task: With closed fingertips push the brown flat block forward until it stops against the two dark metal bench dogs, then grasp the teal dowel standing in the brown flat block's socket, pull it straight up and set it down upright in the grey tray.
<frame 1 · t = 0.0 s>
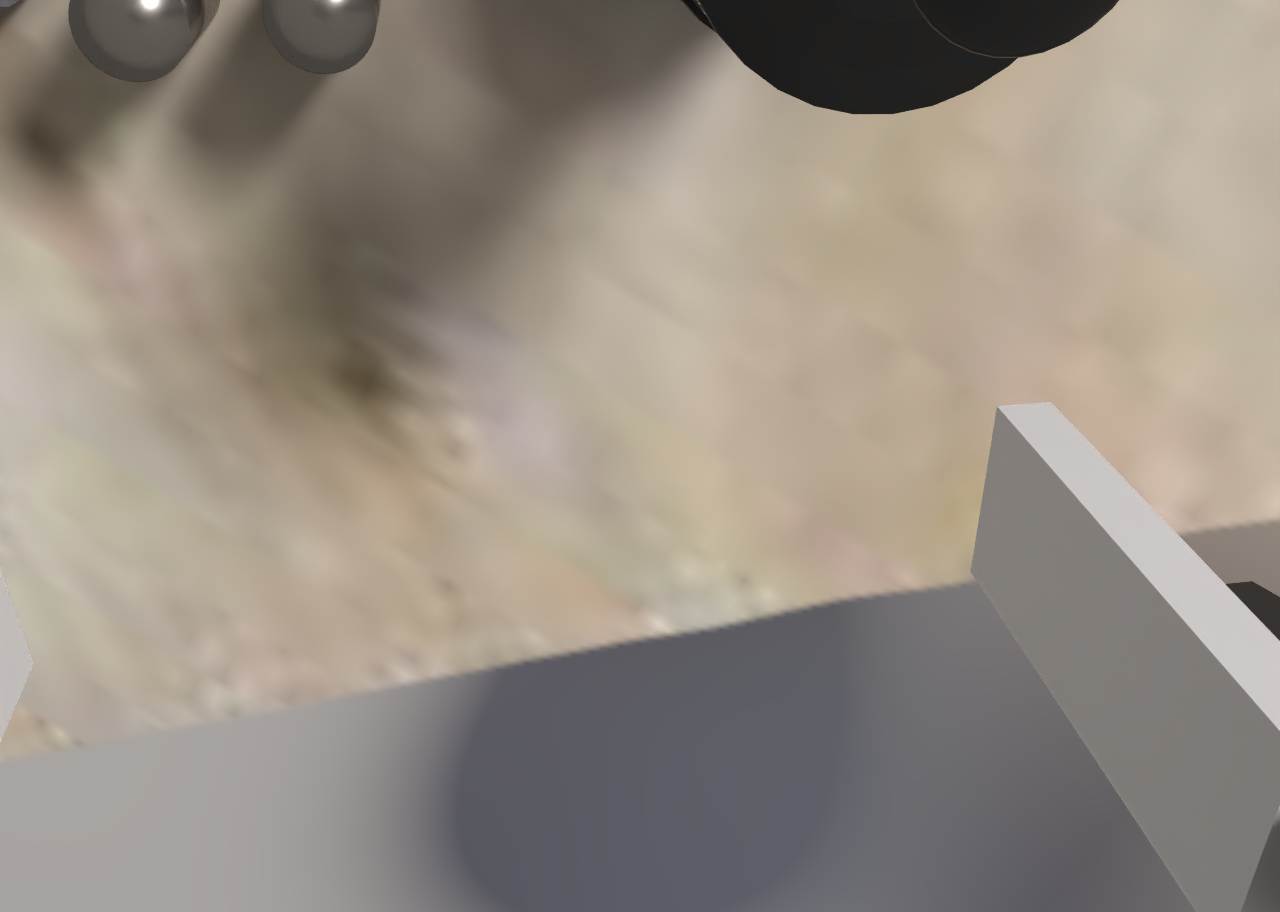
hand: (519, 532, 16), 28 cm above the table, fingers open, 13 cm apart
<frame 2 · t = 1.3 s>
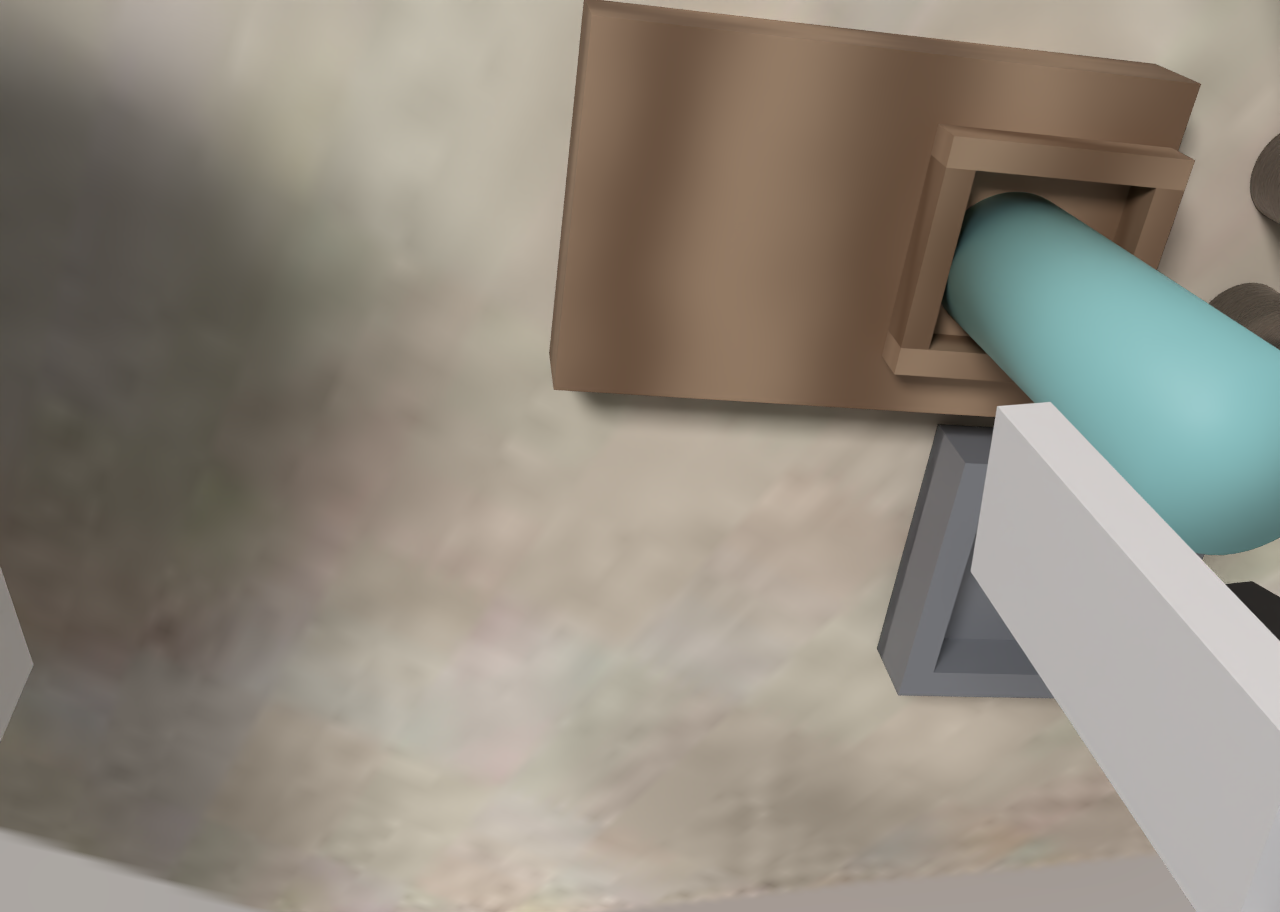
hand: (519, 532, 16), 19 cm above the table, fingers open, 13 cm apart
bench dogs: (1268, 252, 37), on the table
dowel: (1004, 263, 33), point 2 cm above the table, touching brown flat block
brown flat block: (837, 207, 35), on the table, touching dowel
tray: (1030, 547, 41), on the table
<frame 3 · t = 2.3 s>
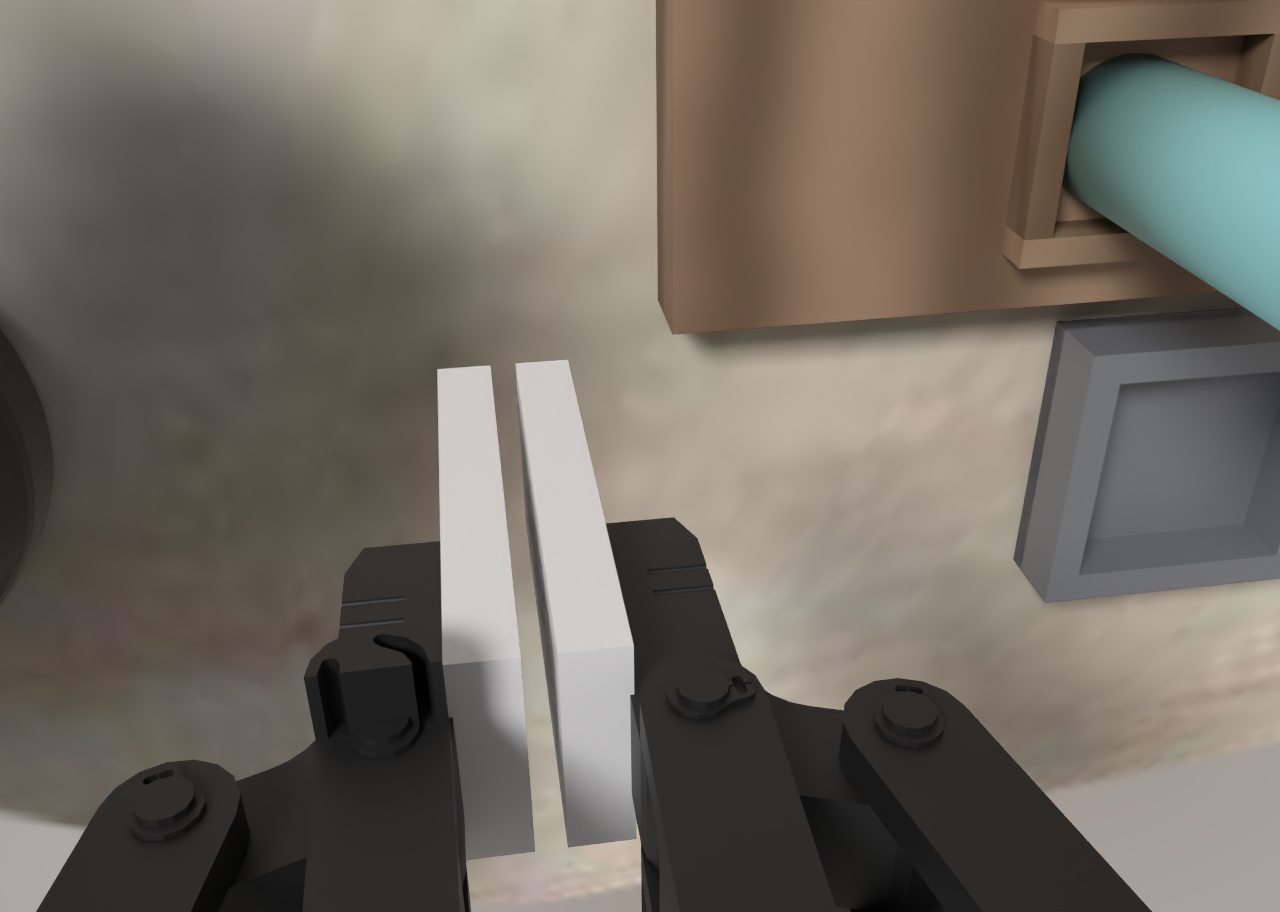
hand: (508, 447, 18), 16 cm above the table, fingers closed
dowel: (1122, 131, 32), point 2 cm above the table, touching brown flat block
brown flat block: (933, 106, 34), on the table, touching dowel
tray: (1161, 436, 40), on the table
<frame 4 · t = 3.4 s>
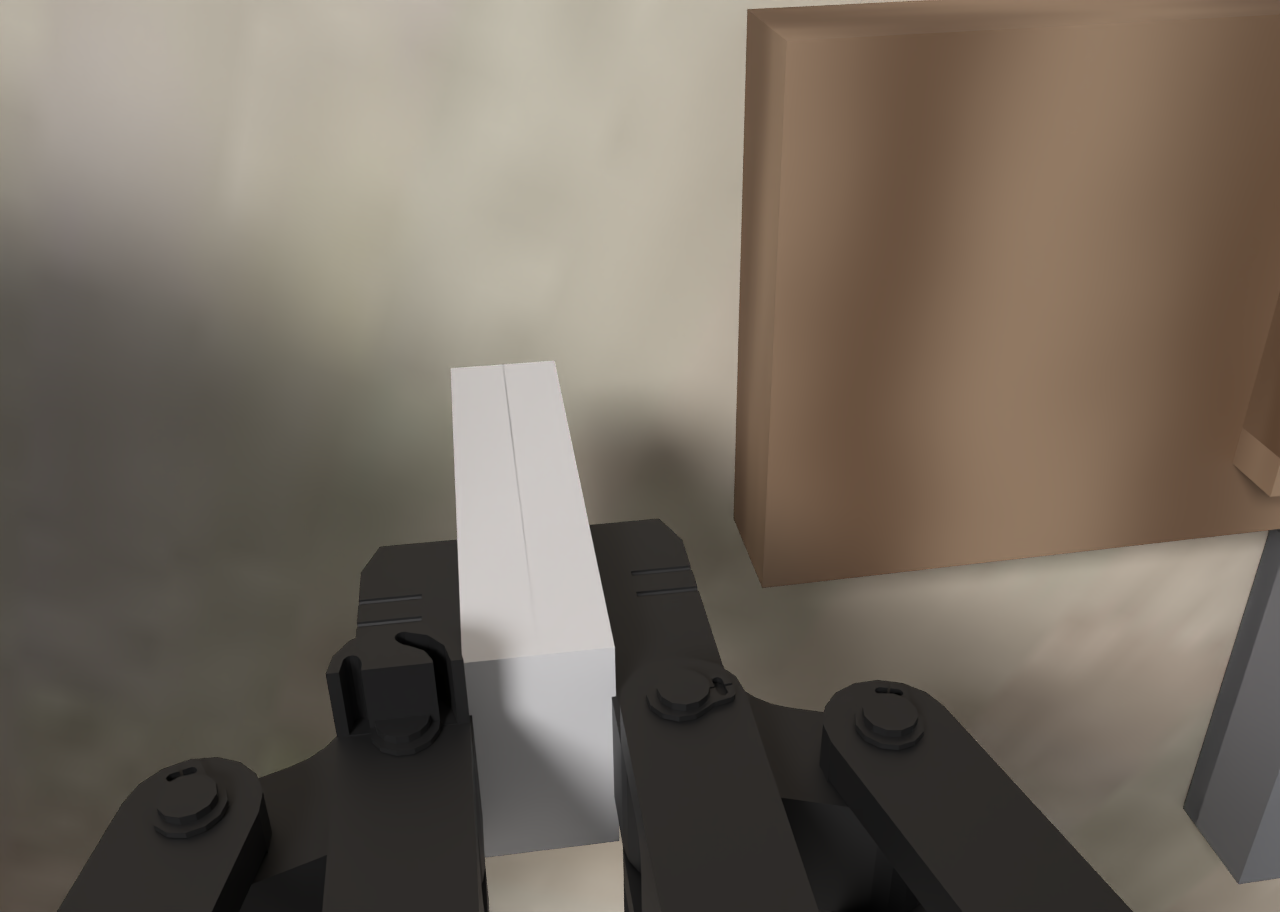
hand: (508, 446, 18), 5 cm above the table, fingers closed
brown flat block: (1127, 249, 24), on the table, touching dowel
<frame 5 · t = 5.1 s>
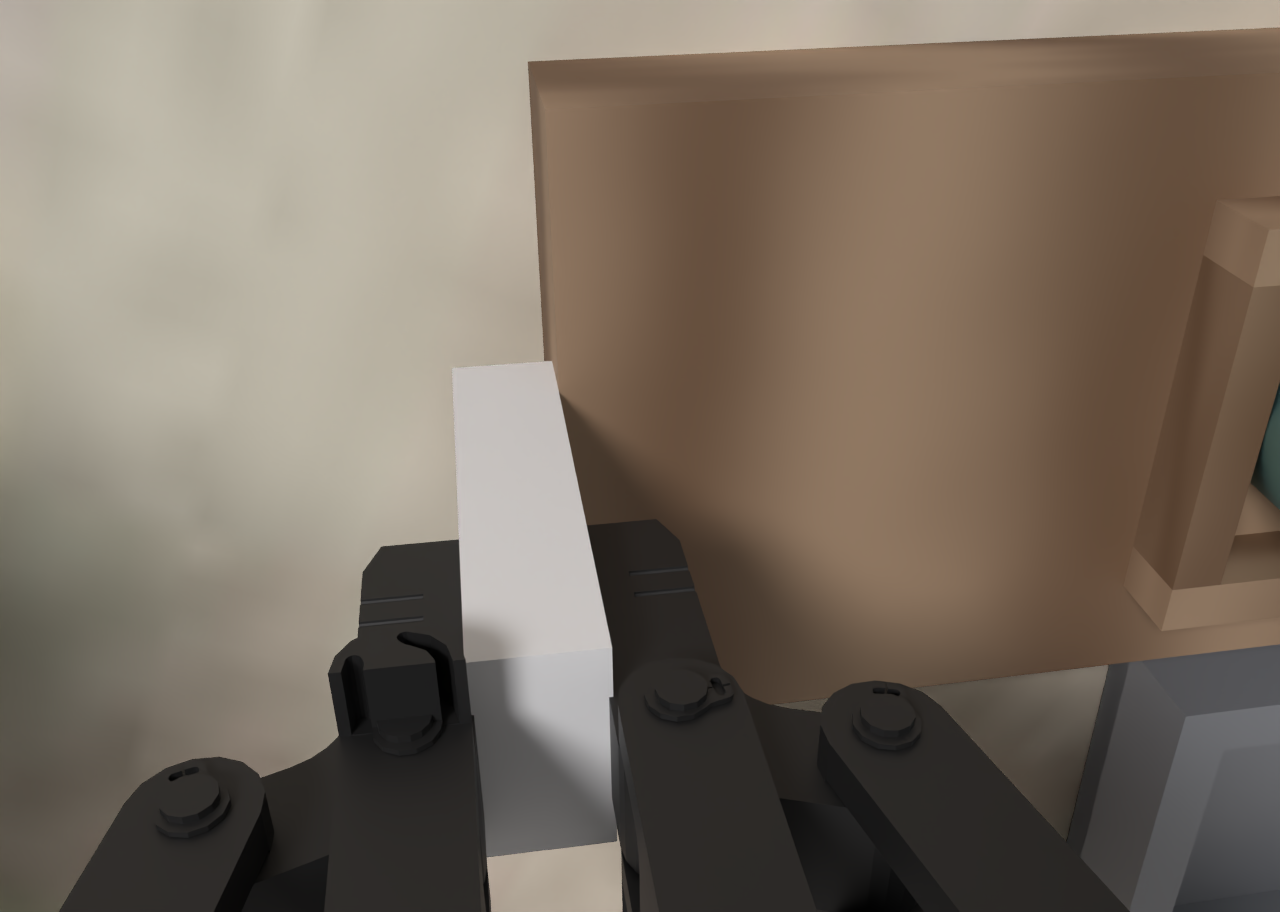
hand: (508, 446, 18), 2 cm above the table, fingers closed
brown flat block: (1008, 334, 21), on the table, touching dowel, gripper
tray: (1267, 767, 27), on the table
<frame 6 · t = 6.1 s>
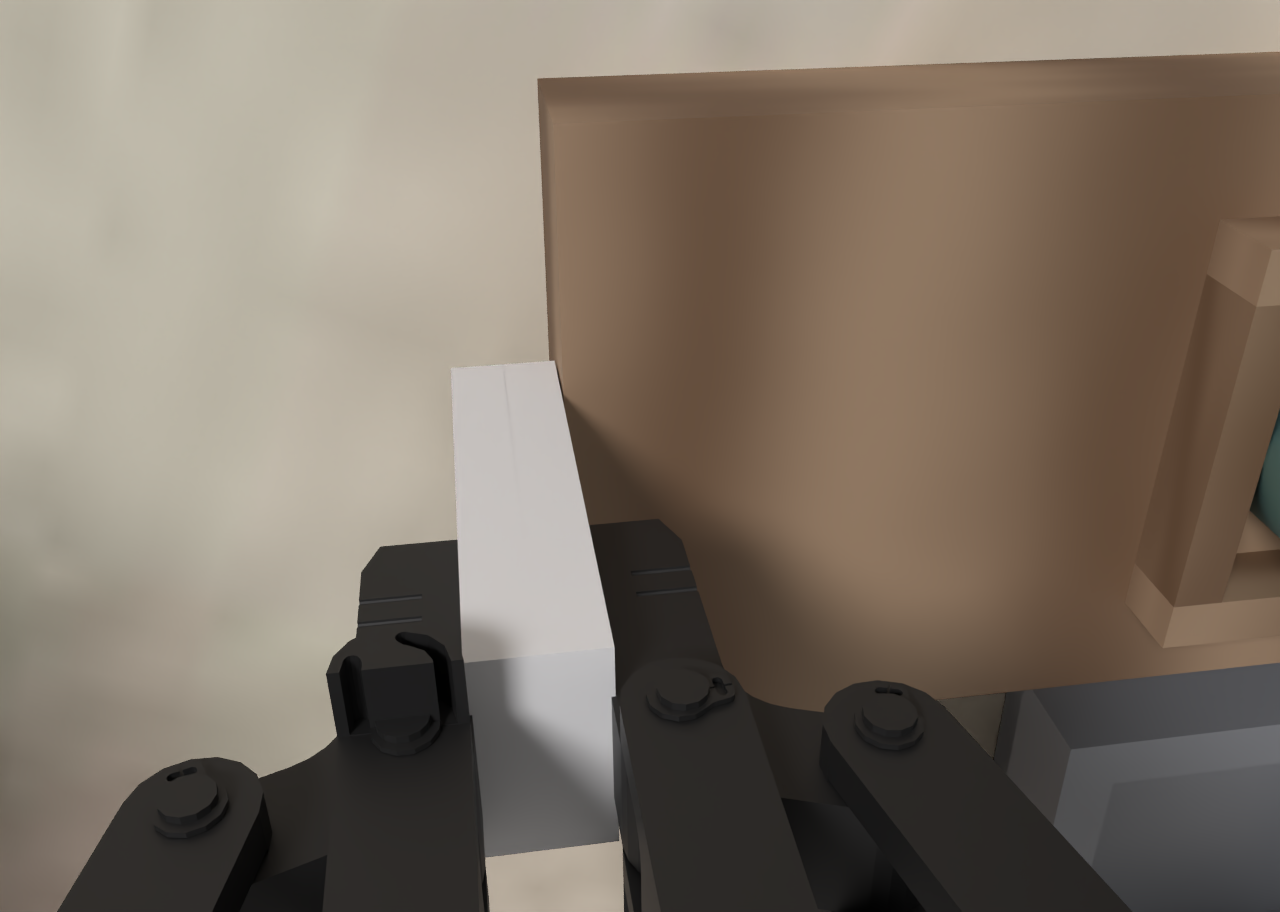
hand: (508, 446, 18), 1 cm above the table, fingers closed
brown flat block: (1011, 350, 21), on the table
tray: (1177, 797, 26), on the table
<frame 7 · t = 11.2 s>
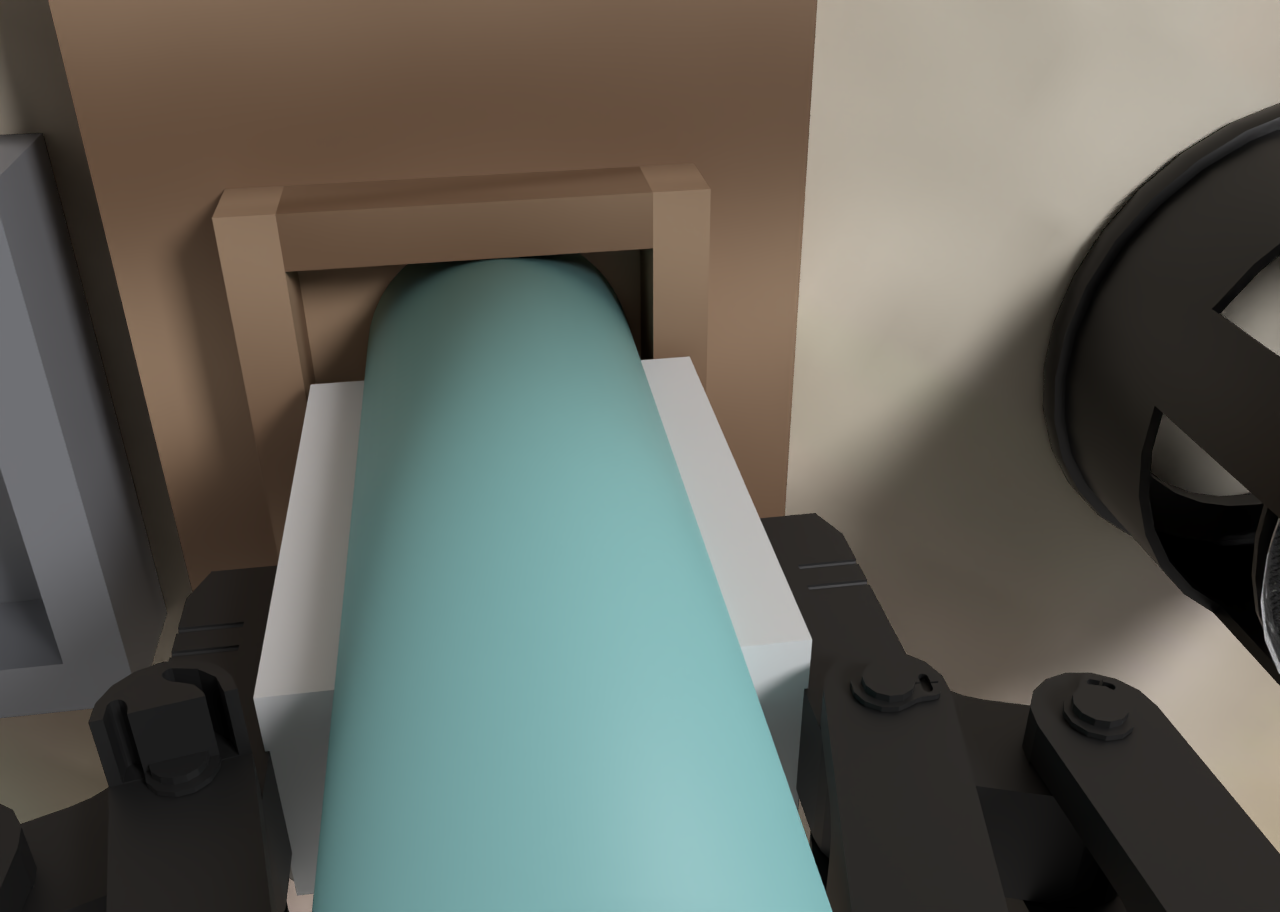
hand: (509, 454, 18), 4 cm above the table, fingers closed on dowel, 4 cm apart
dowel: (500, 353, 19), point 2 cm above the table, touching gripper, brown flat block
brown flat block: (452, 43, 19), on the table, touching dowel
when the fingers open (3 cm above the table, at t = 17.5 s): dowel stays where it is, resting on tray.
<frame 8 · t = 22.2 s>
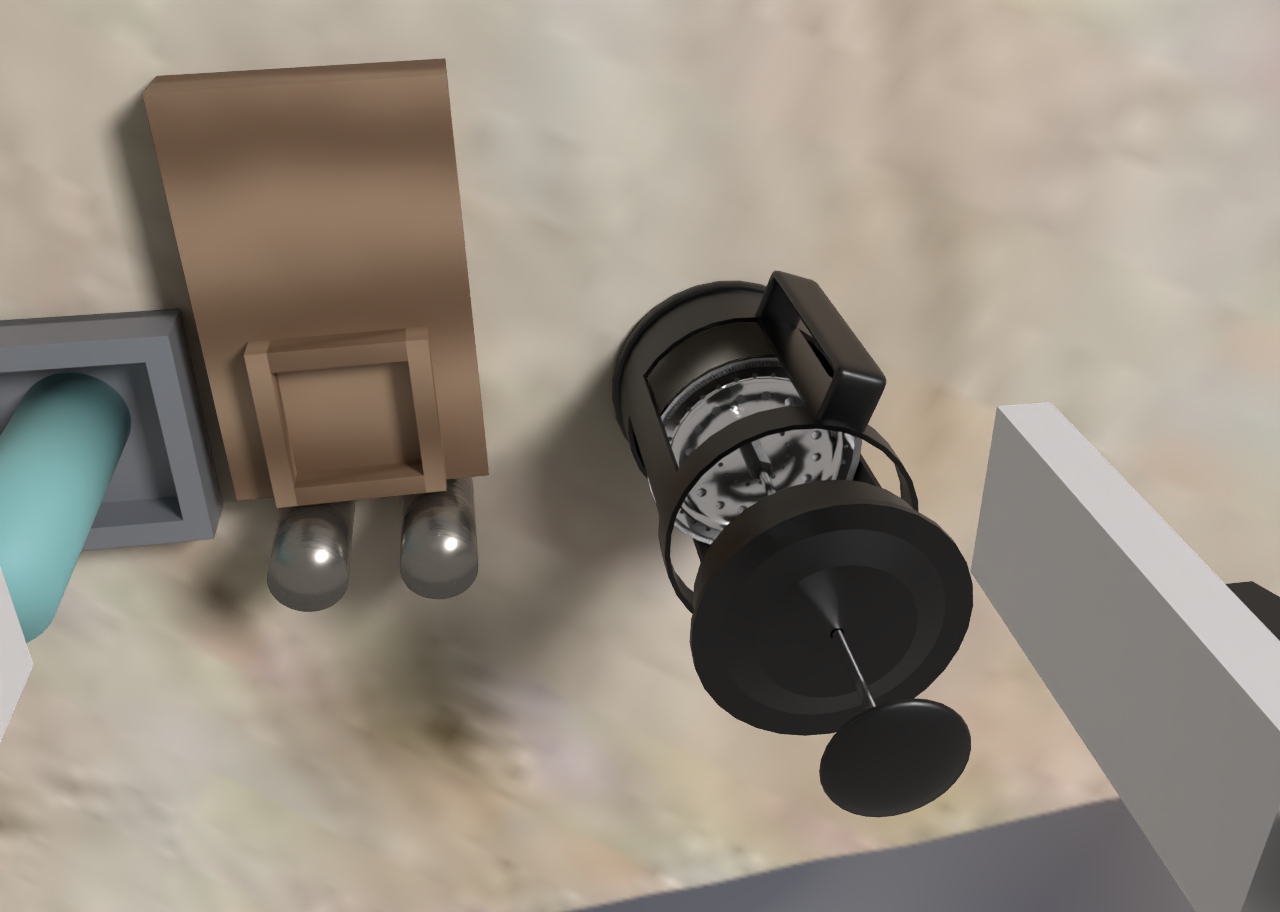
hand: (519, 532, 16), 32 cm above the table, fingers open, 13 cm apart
bench dogs: (379, 492, 52), on the table
dowel: (76, 418, 47), point 1 cm above the table, touching tray
brown flat block: (338, 274, 47), on the table
tray: (85, 420, 48), on the table
french press: (723, 370, 52), on the table
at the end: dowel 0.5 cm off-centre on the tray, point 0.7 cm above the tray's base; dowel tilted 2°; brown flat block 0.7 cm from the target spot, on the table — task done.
